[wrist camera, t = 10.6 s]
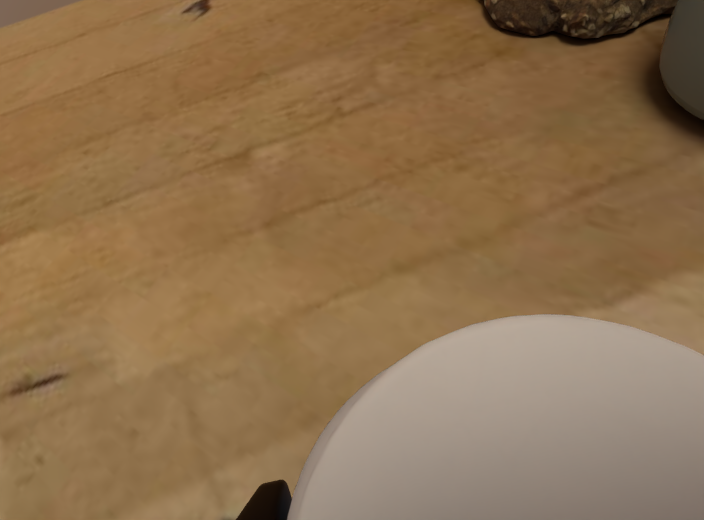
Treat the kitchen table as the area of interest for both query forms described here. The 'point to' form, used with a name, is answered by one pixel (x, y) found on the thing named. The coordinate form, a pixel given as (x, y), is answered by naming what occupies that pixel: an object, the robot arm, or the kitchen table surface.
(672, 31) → the cup
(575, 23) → the bread roll
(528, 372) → the pill bottle
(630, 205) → the kitchen table surface
